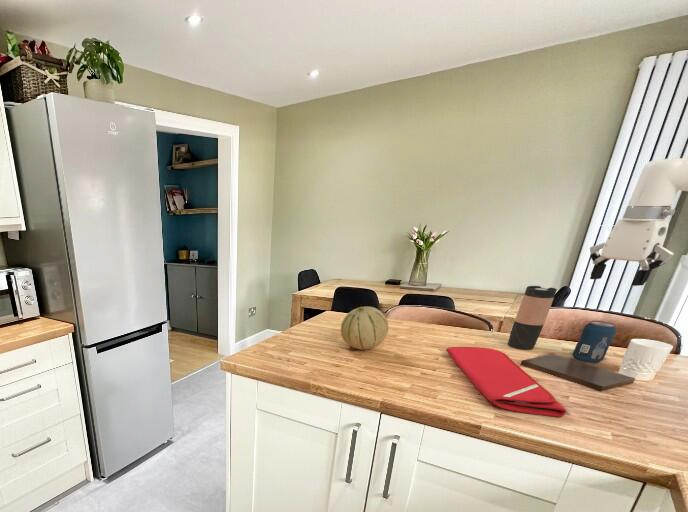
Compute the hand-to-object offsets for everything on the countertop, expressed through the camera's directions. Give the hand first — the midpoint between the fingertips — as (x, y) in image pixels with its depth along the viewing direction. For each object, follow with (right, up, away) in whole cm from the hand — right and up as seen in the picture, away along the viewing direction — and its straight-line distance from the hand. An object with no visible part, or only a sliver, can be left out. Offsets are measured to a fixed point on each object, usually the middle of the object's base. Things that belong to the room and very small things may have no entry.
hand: (615, 282), depth 108 cm
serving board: (-4, -25, +7) cm, 26 cm away
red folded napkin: (-29, -27, +5) cm, 40 cm away
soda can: (+8, -21, +16) cm, 28 cm away
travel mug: (-2, -15, +28) cm, 32 cm away
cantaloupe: (-56, -16, +30) cm, 65 cm away
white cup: (+11, -26, +5) cm, 28 cm away
